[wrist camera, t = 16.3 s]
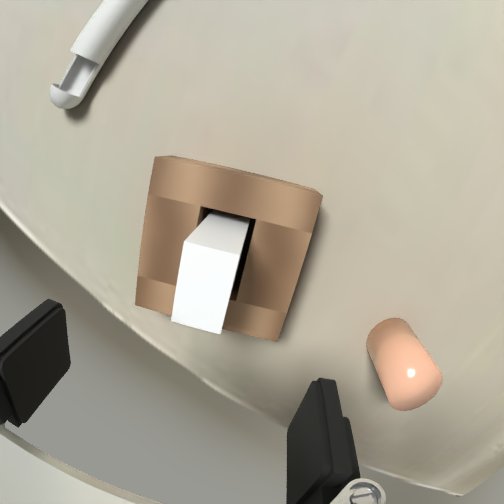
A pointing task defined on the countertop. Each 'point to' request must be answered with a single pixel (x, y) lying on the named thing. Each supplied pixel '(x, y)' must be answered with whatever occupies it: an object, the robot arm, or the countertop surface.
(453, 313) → the countertop surface
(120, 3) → the white long slotted part
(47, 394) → the robot arm
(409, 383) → the round peg
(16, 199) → the countertop surface
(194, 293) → the flat bar peg
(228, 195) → the slot block
